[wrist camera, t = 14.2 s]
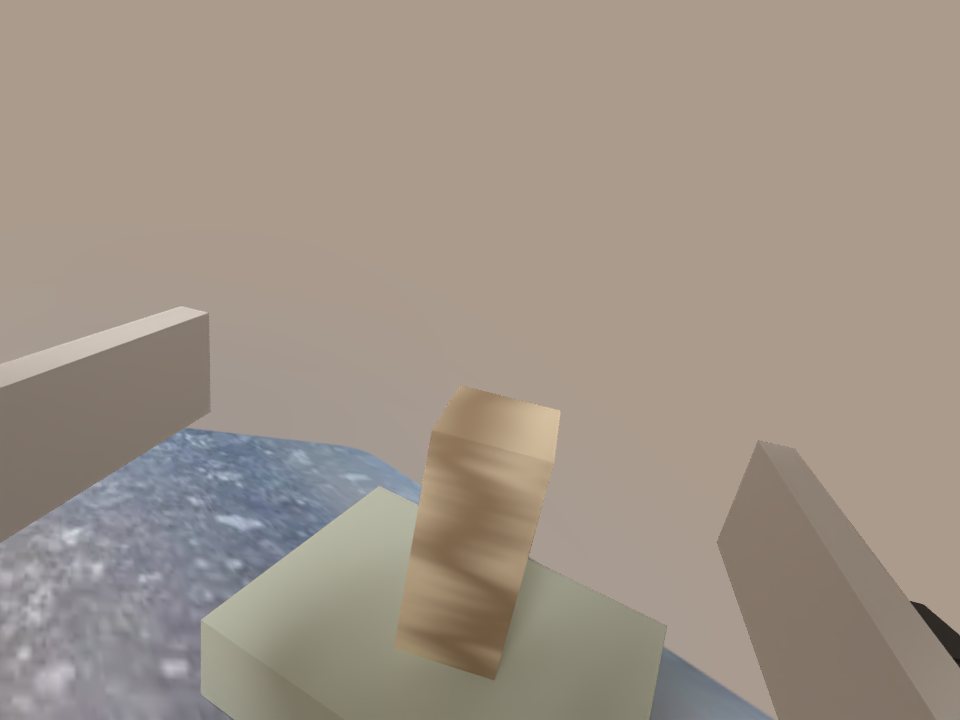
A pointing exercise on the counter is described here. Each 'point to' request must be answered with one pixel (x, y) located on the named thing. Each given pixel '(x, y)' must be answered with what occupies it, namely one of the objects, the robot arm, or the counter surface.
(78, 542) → the counter surface
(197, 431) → the counter surface
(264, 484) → the counter surface
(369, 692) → the block
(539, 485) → the birch block
